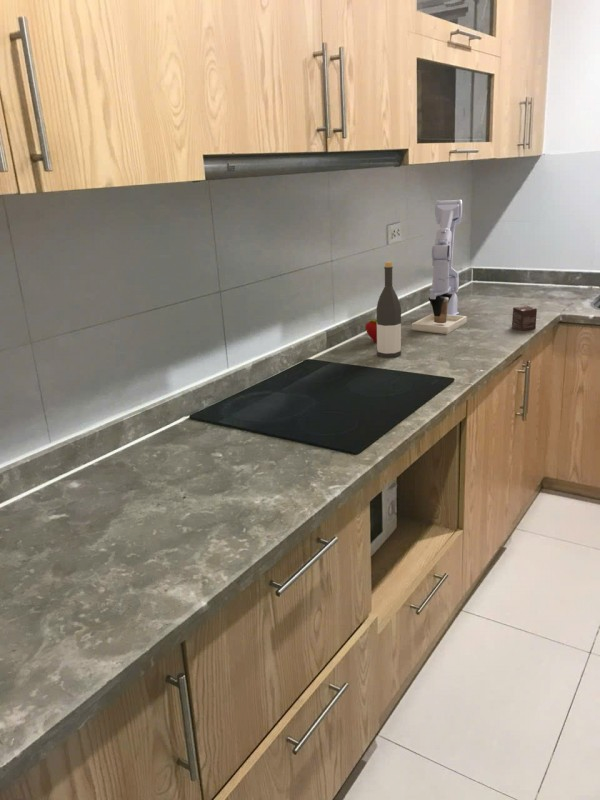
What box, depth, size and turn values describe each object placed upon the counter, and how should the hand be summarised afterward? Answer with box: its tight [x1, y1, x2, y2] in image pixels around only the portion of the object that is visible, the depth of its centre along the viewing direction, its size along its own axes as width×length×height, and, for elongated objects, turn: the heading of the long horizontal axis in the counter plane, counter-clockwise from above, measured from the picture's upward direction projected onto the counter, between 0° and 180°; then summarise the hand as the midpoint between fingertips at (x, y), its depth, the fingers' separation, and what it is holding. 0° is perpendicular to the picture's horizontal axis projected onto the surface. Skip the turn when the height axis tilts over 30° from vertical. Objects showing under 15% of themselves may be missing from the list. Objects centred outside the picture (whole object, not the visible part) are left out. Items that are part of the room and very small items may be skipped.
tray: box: [411, 312, 468, 335], centre depth 240 cm, size 18×14×2 cm
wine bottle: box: [376, 261, 402, 359], centre depth 205 cm, size 8×8×30 cm
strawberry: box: [364, 318, 377, 344], centre depth 223 cm, size 6×8×10 cm
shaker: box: [434, 296, 449, 323], centre depth 238 cm, size 5×5×9 cm
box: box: [511, 305, 538, 331], centre depth 231 cm, size 6×6×7 cm
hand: (440, 314), depth 239 cm, fingers closed on shaker, 4 cm apart
